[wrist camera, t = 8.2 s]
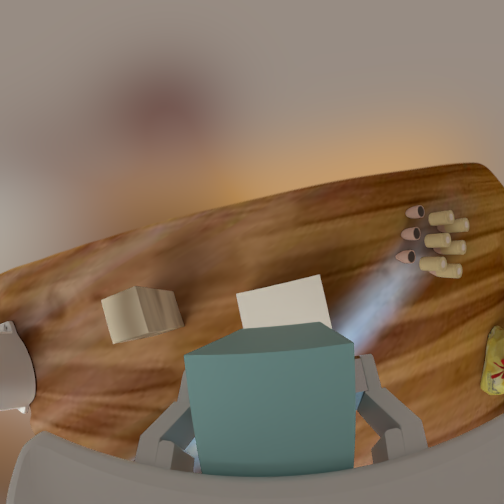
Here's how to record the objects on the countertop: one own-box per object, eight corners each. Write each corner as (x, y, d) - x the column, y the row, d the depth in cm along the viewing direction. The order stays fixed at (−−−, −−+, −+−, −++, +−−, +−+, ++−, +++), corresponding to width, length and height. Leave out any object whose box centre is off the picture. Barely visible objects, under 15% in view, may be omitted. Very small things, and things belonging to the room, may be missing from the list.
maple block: (153, 336, 32) (113, 343, 24) (143, 302, 33) (101, 300, 25) (184, 326, 32) (148, 332, 23) (173, 291, 33) (135, 285, 24)
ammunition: (472, 219, 25) (420, 194, 26) (463, 279, 24) (407, 256, 26) (454, 229, 30) (405, 207, 31) (443, 283, 29) (392, 262, 30)
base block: (260, 362, 30) (253, 375, 24) (246, 295, 32) (235, 293, 26) (329, 347, 30) (337, 356, 24) (314, 279, 31) (319, 274, 25)
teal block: (248, 400, 15) (204, 484, 6) (241, 328, 16) (183, 355, 7) (324, 394, 14) (352, 479, 6) (319, 321, 15) (353, 342, 7)
